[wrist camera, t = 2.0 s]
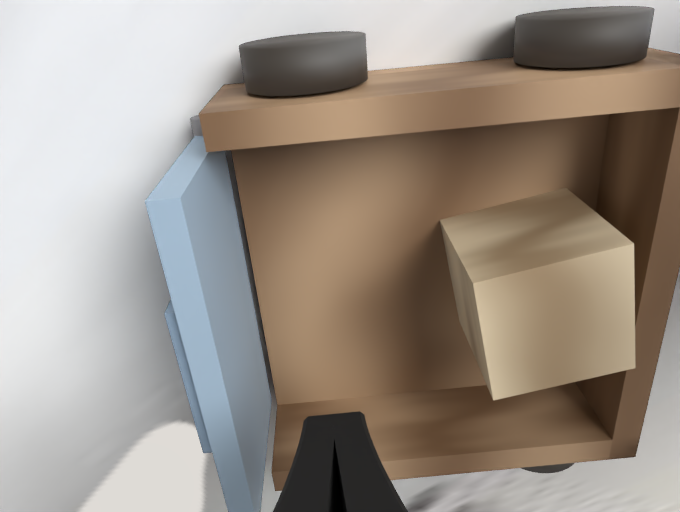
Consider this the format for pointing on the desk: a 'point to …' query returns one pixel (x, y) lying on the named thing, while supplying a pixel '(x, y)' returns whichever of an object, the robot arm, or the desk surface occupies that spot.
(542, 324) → the block
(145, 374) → the desk surface
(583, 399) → the truck bed
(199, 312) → the panel
